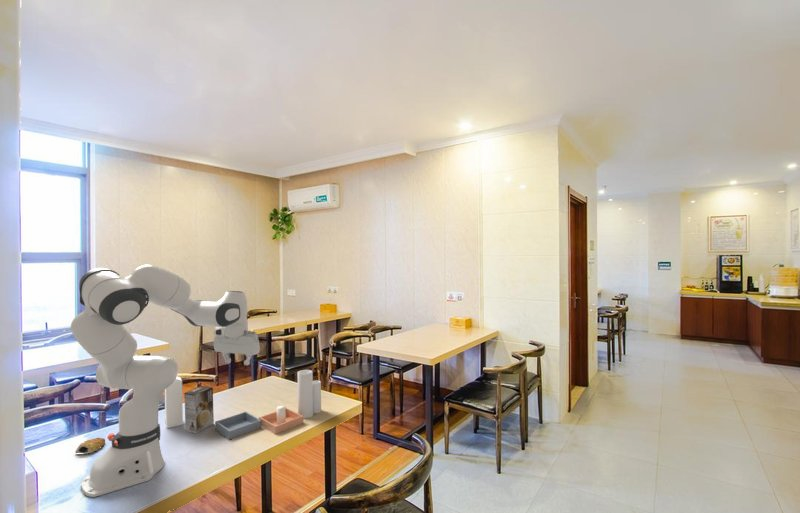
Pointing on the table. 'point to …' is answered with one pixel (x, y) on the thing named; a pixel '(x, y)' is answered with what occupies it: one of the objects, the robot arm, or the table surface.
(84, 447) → the pastry
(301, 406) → the white double cylinder vase
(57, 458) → the table surface
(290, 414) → the salmon open tray
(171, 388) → the milk
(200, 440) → the table surface
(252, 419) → the grey-blue open tray
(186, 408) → the coffee box
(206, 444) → the table surface
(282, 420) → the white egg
